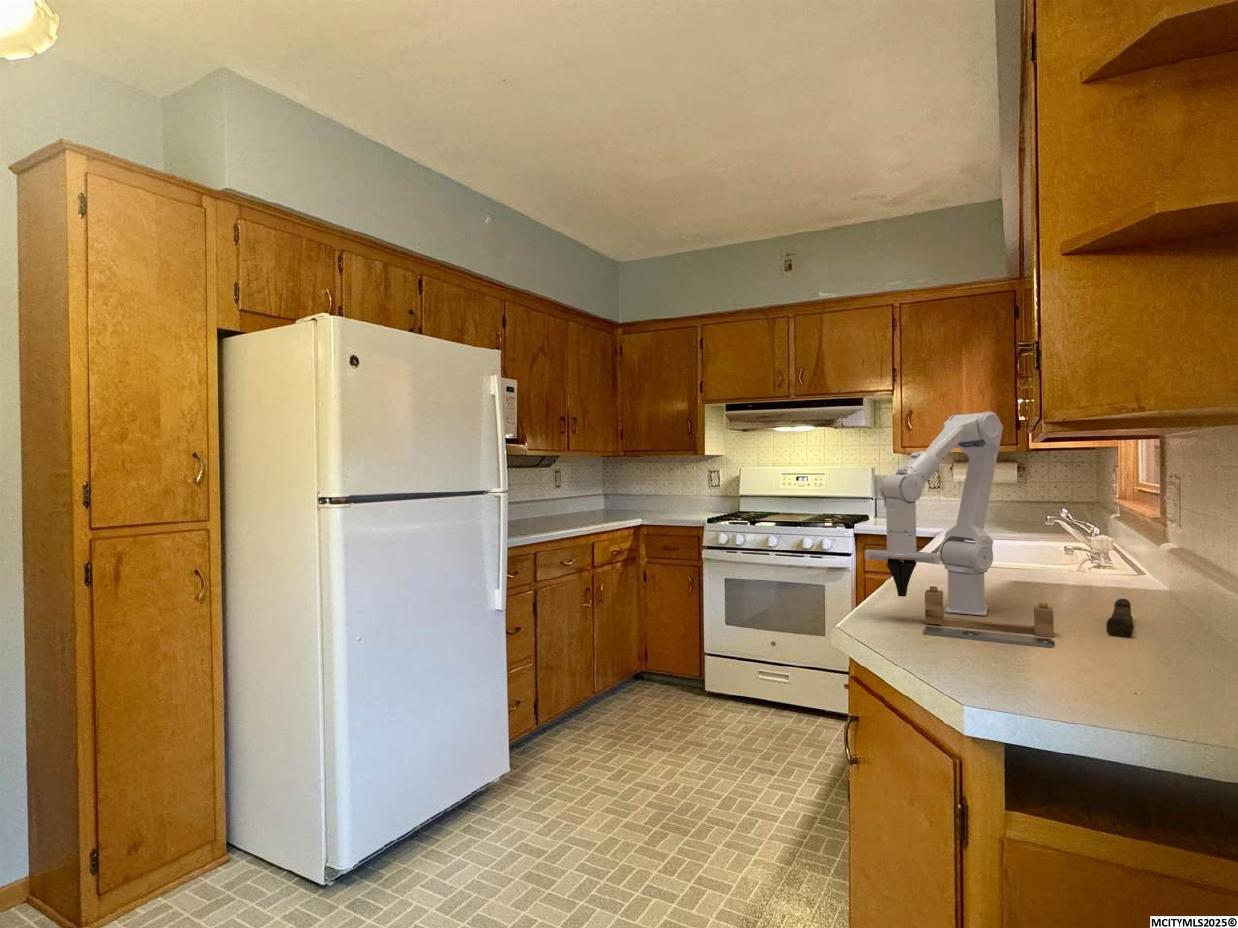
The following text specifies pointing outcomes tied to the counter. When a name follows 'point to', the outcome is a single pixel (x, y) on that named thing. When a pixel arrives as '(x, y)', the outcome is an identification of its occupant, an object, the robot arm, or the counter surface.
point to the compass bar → (1040, 628)
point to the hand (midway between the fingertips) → (902, 595)
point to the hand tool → (1120, 620)
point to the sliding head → (933, 606)
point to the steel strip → (990, 636)
